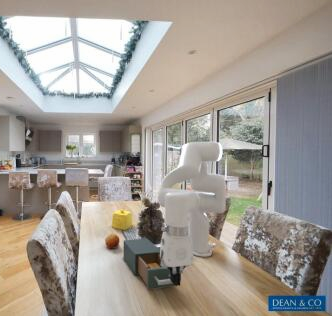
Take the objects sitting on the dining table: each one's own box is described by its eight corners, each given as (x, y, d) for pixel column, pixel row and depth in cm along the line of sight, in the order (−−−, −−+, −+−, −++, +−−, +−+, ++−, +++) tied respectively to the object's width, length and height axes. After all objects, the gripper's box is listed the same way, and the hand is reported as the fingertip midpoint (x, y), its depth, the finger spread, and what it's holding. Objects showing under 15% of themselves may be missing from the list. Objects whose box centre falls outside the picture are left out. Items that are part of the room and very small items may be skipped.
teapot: (124, 232, 136) (124, 214, 136) (107, 229, 142) (108, 212, 142) (134, 223, 153) (134, 208, 153) (119, 221, 160) (119, 206, 159)
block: (155, 272, 87) (155, 262, 87) (160, 277, 83) (161, 267, 83) (147, 273, 86) (147, 263, 86) (151, 278, 82) (151, 269, 82)
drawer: (182, 293, 75) (182, 273, 75) (153, 297, 73) (153, 277, 73) (157, 267, 93) (158, 251, 93) (134, 269, 90) (134, 253, 90)
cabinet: (161, 272, 90) (162, 251, 90) (134, 275, 88) (135, 254, 88) (146, 256, 105) (147, 238, 105) (123, 258, 102) (123, 240, 102)
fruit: (122, 248, 110) (114, 234, 111) (109, 254, 112) (102, 241, 112) (123, 241, 118) (116, 229, 119) (111, 247, 119) (104, 235, 120)
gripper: (161, 235, 64) (160, 293, 64) (203, 232, 67) (202, 287, 67) (150, 226, 72) (149, 279, 72) (188, 224, 75) (187, 274, 75)
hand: (175, 283), depth 70 cm, fingers closed
